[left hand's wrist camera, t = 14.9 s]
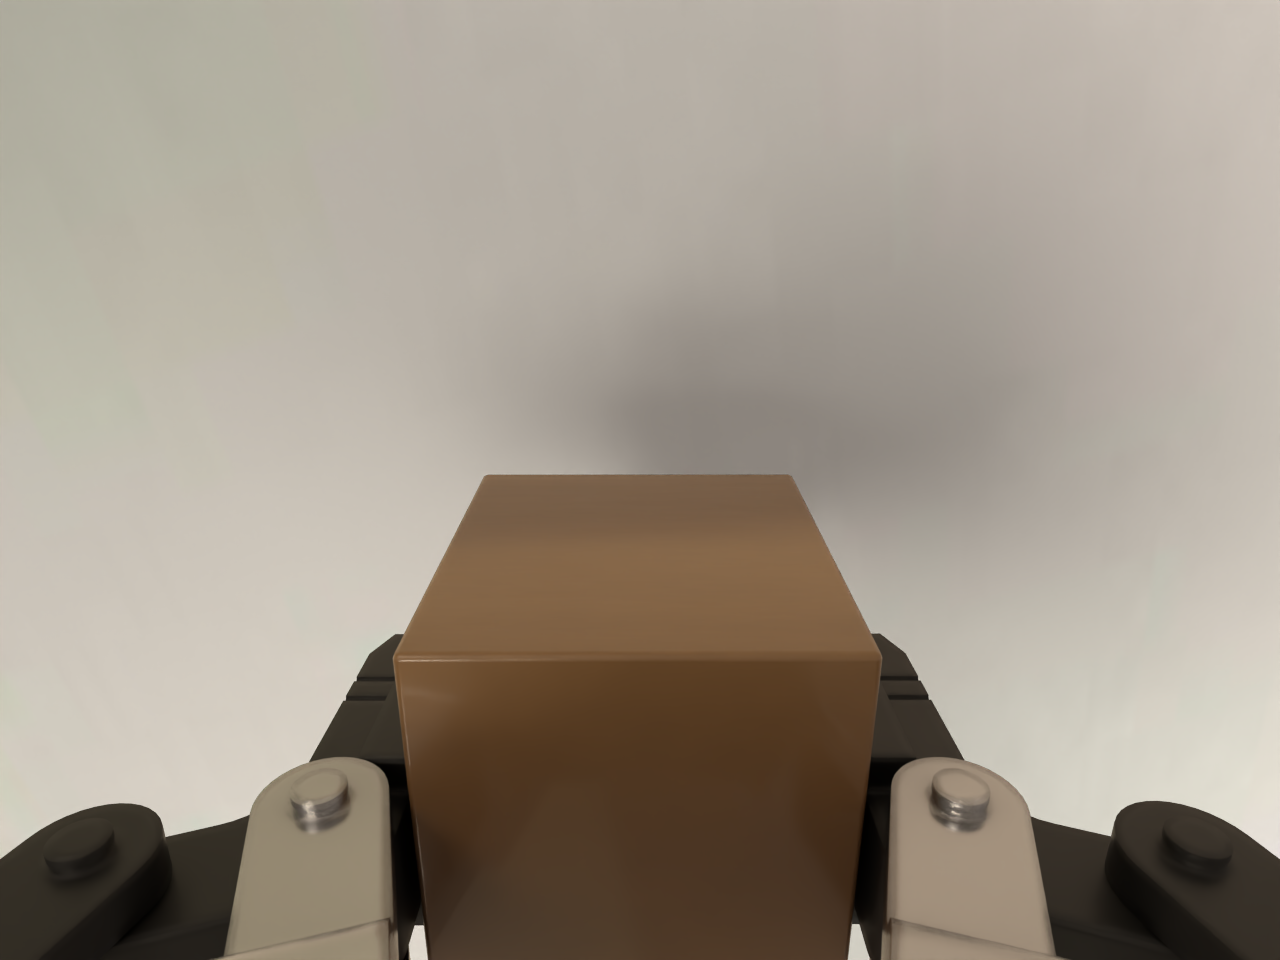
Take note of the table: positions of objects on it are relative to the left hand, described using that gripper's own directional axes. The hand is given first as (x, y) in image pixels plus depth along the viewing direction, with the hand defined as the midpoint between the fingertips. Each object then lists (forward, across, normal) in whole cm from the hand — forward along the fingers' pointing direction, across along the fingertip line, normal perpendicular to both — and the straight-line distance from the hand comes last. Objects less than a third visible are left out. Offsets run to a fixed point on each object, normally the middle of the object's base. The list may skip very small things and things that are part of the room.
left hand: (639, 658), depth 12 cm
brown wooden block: (+1, 0, 0) cm, 1 cm away
